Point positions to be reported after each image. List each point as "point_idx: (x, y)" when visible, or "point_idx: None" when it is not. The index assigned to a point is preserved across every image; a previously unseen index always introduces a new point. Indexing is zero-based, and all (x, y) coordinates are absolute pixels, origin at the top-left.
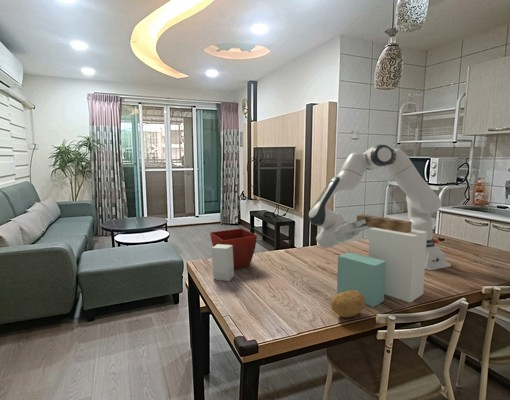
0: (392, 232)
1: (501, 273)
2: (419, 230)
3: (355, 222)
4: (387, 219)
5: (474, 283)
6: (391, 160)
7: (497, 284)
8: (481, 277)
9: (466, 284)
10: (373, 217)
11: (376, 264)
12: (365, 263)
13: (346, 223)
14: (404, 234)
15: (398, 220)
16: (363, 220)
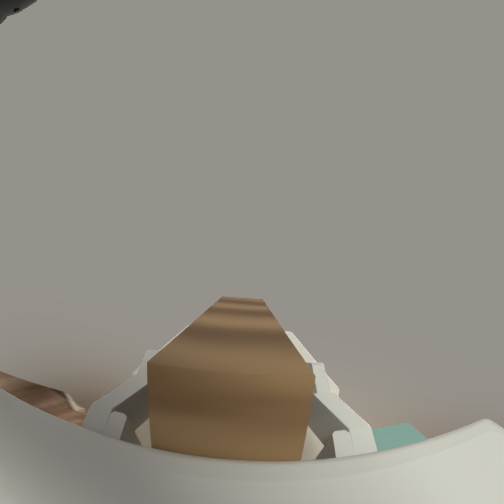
0: (300, 349)
1: (9, 377)
2: (185, 328)
3: (372, 436)
4: (254, 308)
5: (66, 415)
6: (24, 8)
7: (61, 396)
8: (31, 399)
9: (76, 424)
10: (257, 323)
11: (397, 426)
12: (423, 437)
13: (492, 421)
14: (290, 338)
15: (238, 302)
16: (321, 374)
